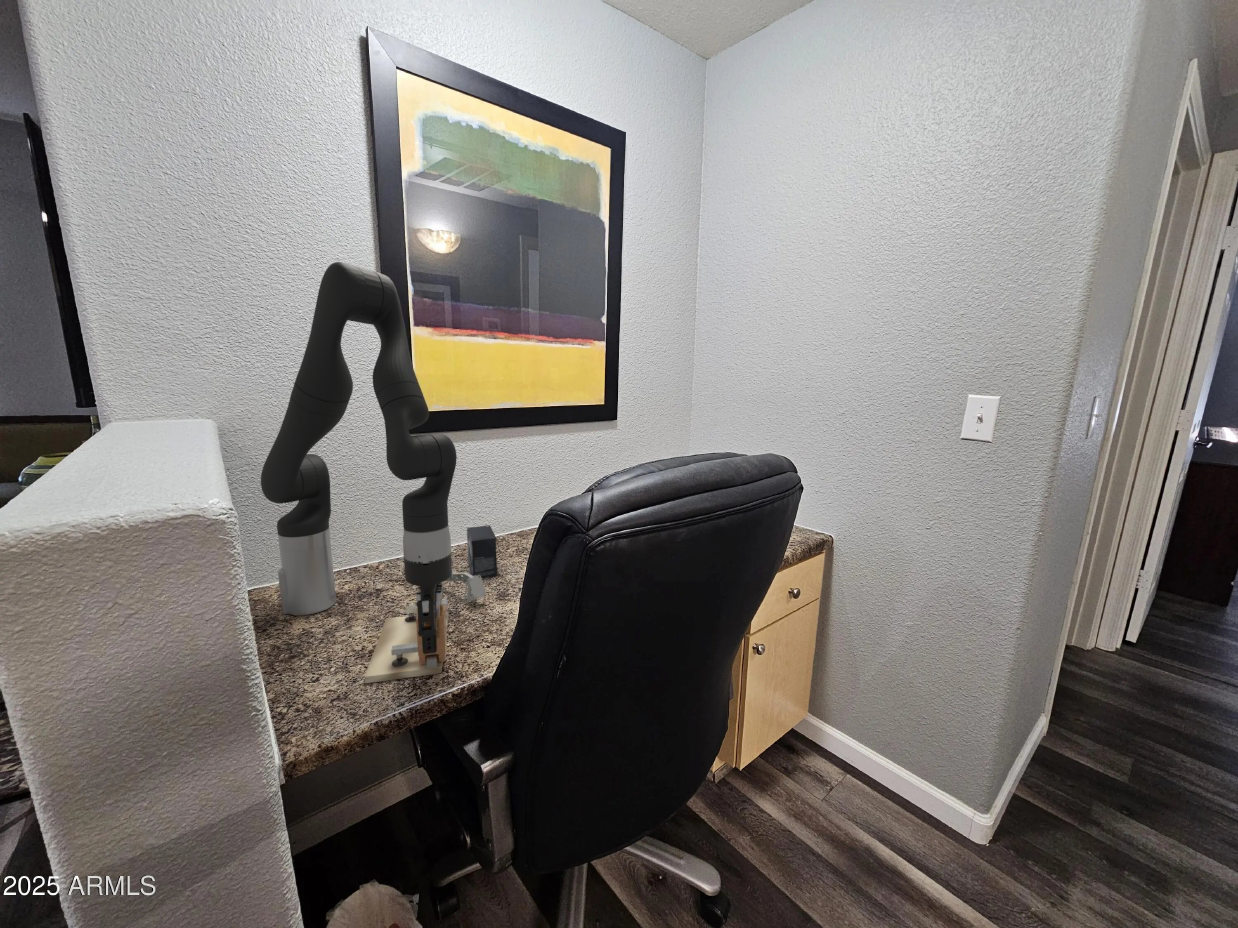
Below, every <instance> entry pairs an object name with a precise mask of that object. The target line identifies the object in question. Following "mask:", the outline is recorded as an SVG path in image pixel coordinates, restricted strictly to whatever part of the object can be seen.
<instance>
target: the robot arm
mask: <svg viewBox="0 0 1238 928" xmlns="http://www.w3.org/2000/svg"><path fill="white" fill-rule="evenodd" d="M348 321H349V322H355V323H359V324H360V323H361V324H364V325H371V326H372V325H373V327H374V328H375V330H376V332H377V335H378V336H379V340H380V348H379V352H378V356H377V359H376V361H375V365H374V368H373V370H372V387H373V390H374V394H375V397H376V400H377V402H378V406H379V409H380V410H381V414H382V416H383V421H384V428H385V429H384V430H385V437H386V439H385V441H386V448H385V449H386V452H385V453H386V463H387V466H388V469H389V470H390V472H391V473H392V475H393V476H394V477H396V478H398V479H399V480H402V481H412V480H419V479H424V478H425V480H424V483H423V484H422V485H421V486H420V487H419V488H417V489H415V490H413V491H410V492H408V493H407V494H405V495H404V497H403V499H402V503H401V506H402V507H401V510H402V521H403V522H402V524H403V525H402V526H403V536H402V551H403V552H402V553H403V564H404V565H403V566H404V579H405V581H406V583H408V584H409V585H411V586H412V585H413V586H416V587H417V592H416V594H415V595H416V596H415V597H416V600H415V601H416V605H417V609H418V612H417V613H416V615H417V617H418V629H419V631H418V634H419V637H420V636H422V647H423V653H424V654H430V653H435V652H436V651H437V635H436V632H437V619H438V618H439V617H440V605H441V604H442V600H443V593H444V592H443V591H444V590H443V589H444V584H443V583H444V582H447V581H446V580H447V579H449V578H450V577H451V575H452V573H453V561H452V541H451V533H450V528H449V511H448V510H449V509H448V500H449V498H450V497H449V496H450V492H451V489H452V488H451V487H452V483H453V478H454V475H455V470H456V466H457V456H458V455H457V450H456V447H455V444H454V443H453V441H452V440H451V438H450V437H448V435H446V434H443V433H428V434H427V433H426V434H415V435H411V433H410V431H409V430H412V429H414V428H417V427H420V426H422V425H423V424H424V423H426V422H427V421H428V419H429V417H430V411H429V410H430V409H429V407H428V404H427V401H426V399H425V396H424V393H423V391H422V388H421V385H420V383H419V380H418V378H417V375H416V372H415V368H414V366H413V362H412V357H411V354H410V347H409V341H408V337H407V330H406V324H405V321H404V315H403V310H402V305H401V301H400V296H399V294H398V290H397V288H396V286H395V283H394V281H393V280H391V278H390V277H389V276H388V275H385V274H382V272H378V271H375V270H371V269H367V268H364V267H362V266H361V267H360V266H357V265H354V264H350V263H347V262H341V261H335V262H332V263H331V264H330V265H328V267H327V268H326V270H325V271H324V274H323V276H322V277H321V281H320V285H319V289H318V292H317V298H316V303H315V307H314V312H313V318H312V323H311V328H310V333H309V337H308V342H307V343H306V346H305V347H306V348H305V351H304V354H303V357H302V361H301V363H300V366H299V369H298V372H297V374H296V377H295V380H294V383H293V387H292V390H291V393H290V397H289V401H288V405H287V408H286V411H285V414H284V417H283V420H282V423H281V425H280V429H279V431H278V434H277V436H276V438H275V440H274V442H273V445H272V446H271V449H270V451H269V453H268V455H267V458H266V459H265V461H264V464H263V465H262V470H261V475H260V487H261V492H262V493H263V495H264V497H265V498H266V499H267V500H268V501H270V502H272V503H274V504H289V503H294V502H298V503H297V504H296V505H295V506H294V507H293V508H292V509H291V510H290V511H289V512H287V513H286V514H284V515H283V516H281V517H280V518H279V519H278V521H277V523H276V531H277V537H278V538H277V539H278V540H277V541H278V548H279V556H280V564H281V565H280V566H281V568H280V569H279V570H278V571H277V577H278V585H279V594H280V600H281V601H280V602H281V609H282V615H283V614H284V615H285V614H287V615H291V616H292V615H294V616H306V615H307V616H308V615H313V614H316V613H320V612H322V611H323V612H324V611H325V610H328V609H329V608H331V607H332V606H334V605H335V604H336V603H337V596H336V594H337V593H336V587H335V586H336V585H335V574H334V566H333V565H334V563H333V561H334V560H333V554H332V553H333V552H332V551H333V550H332V543H331V531H330V530H331V529H330V518H331V514H332V505H331V502H332V501H331V478H330V472H329V469H328V466H327V463H326V462H325V460H324V459H323V458H322V457H321V456H319V455H318V454H315V453H309V452H310V451H311V450H312V448H314V447H315V445H317V443H318V442H320V441H321V440H322V439H323V438H324V437H325V436H327V434H328V433H330V432H331V431H332V430H333V429H334V428H335V427H336V426H337V425H338V424H339V423H340V422H341V420H342V418H343V417H344V416H345V414H346V411H347V408H348V405H349V403H350V400H351V397H352V394H353V390H354V382H353V378H352V375H351V372H350V370H349V369H350V368H349V366H348V364H347V362H346V359H345V356H344V354H343V353H344V352H343V349H342V337H343V332H344V329H345V325H346V324H347V322H348ZM452 576H453V575H452ZM435 610H436V611H435ZM424 622H431V626H424Z"/></svg>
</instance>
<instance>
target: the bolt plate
mask: <svg viewBox="0 0 1238 928" xmlns="http://www.w3.org/2000/svg"><path fill="white" fill-rule="evenodd" d="M445 612H446V632H447V631H448V624H449V611H445ZM416 617H417V614H414V619H413V620H409V615H406V616H396V617H395V616H394V617H387V618H385V621H384V623H383V626H382V629H381V632H380V634H379V636H378V637H379V638H378V639H377V643H376V645H375V647H374V651H373V654H372V656H371V659H370V660H369V664H368V666H367V668H366V672H365V674H364V677H363V678H364V684H370V683H377V682H385V681H394V680H399V679H408V678H414V677H415V678H416V677H423V676H429V675H437V674H442V673H443V663H444V661H443V662H439V656H438V663H437V667H435V668H428V669H427V661H426V664H420V665H419V656H418V652H415V653H407V654H403V660H402V661H397V659H396V655H392V653H391V650H392V646H395V645H403V644H411V643H417V627H416ZM426 660H427V659H426Z"/></svg>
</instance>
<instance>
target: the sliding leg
mask: <svg viewBox="0 0 1238 928" xmlns="http://www.w3.org/2000/svg"><path fill="white" fill-rule="evenodd" d="M435 611H436V610H435ZM446 612H447V611H446V610H445V605H440V617H439V618H438V619H437V632H436V635H437V651H436V652H435V653H430V654H424V653H423V647H422V636H420V637H419V634H418V631H419V629H418V617H416V627H417V643H411V644H403V645H395V646H392V650H391V653H392V655H396V659H397V661H402V660H403V654H407V653H415V652H418V656H419V665H420V664H426V659H427V655H432V654H439V662H443V663H444V662H446V657H447V649H448V647H447V642H448V638H447V637H448V635H447V632H446ZM424 626H431V622H424Z"/></svg>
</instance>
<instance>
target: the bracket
mask: <svg viewBox="0 0 1238 928" xmlns="http://www.w3.org/2000/svg"><path fill="white" fill-rule="evenodd" d="M479 576H480V575H478V576H476V575H474V576H472V574H471V573H469V572H454V573H453V572H452V575H451V577H450V578H449V579H447V580H446V581H445V582H462V583H464V584H465V589H464V595H463V596H464V597H463V598H464V601H465V602H466V603H470V602H472V601H474V600H478V599H481V598H482V597H486V596H487V591H486V588H485V585H484V582H483V578H481V576H480V578H479Z"/></svg>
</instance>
